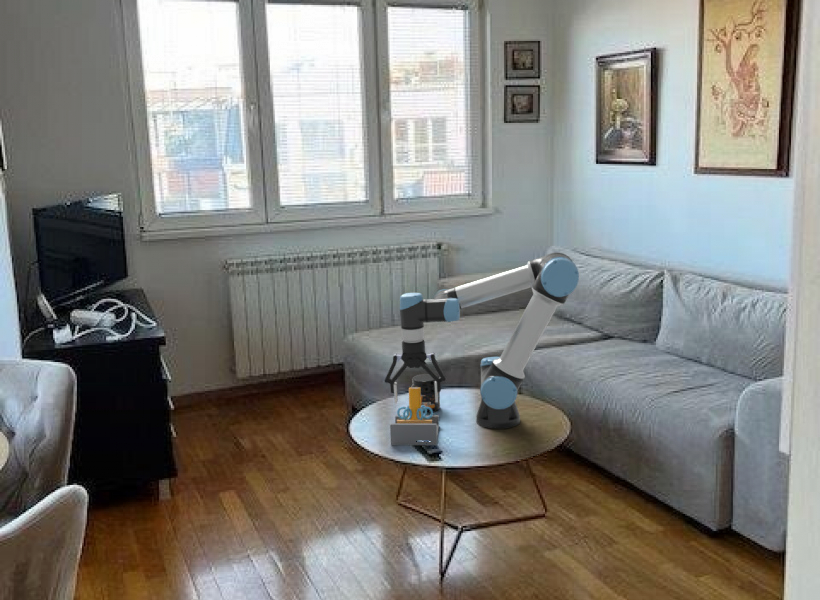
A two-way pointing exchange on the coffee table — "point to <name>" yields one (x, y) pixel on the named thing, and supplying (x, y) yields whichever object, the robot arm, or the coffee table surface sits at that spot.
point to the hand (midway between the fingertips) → (416, 401)
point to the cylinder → (415, 406)
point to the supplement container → (427, 391)
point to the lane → (414, 432)
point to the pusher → (414, 421)
